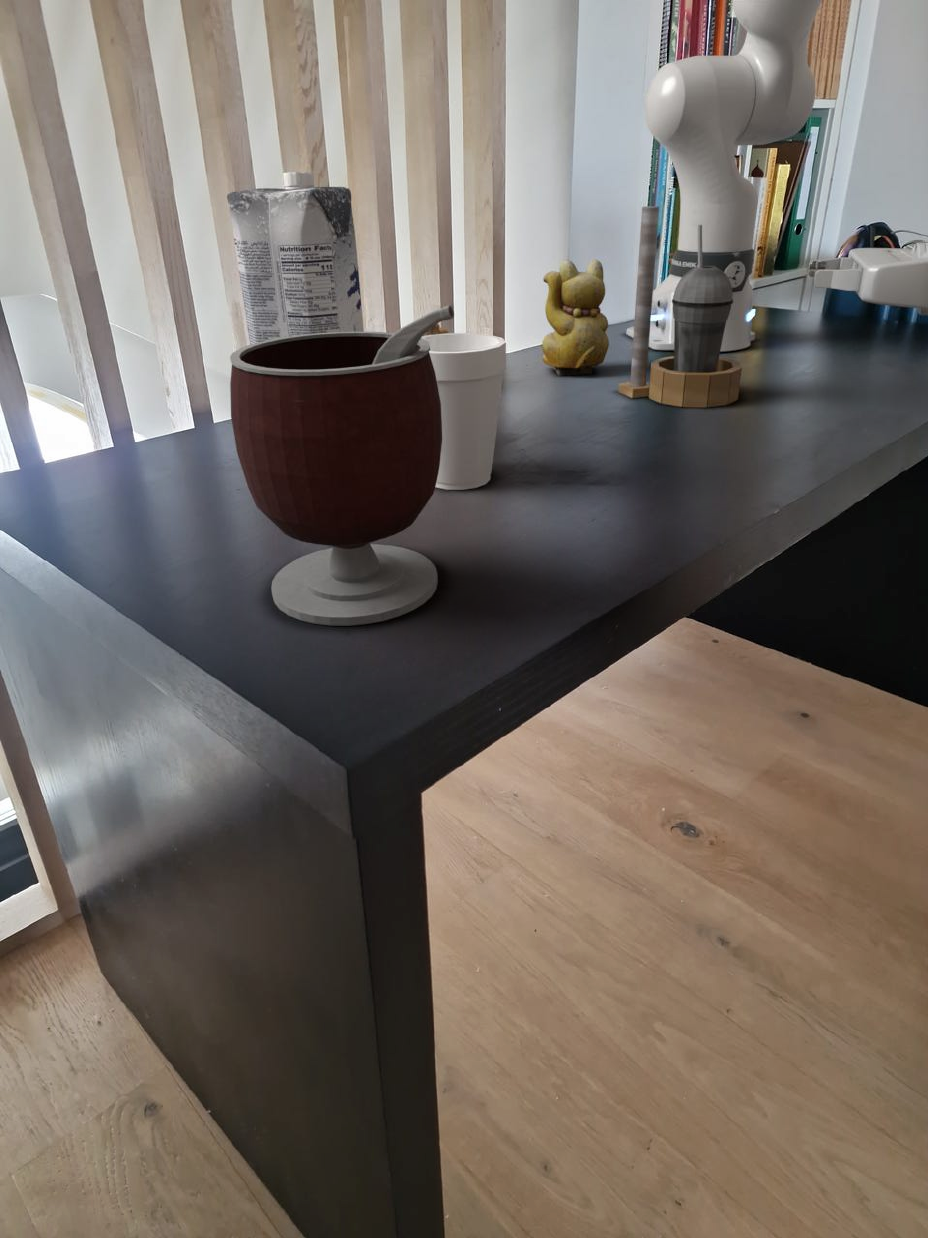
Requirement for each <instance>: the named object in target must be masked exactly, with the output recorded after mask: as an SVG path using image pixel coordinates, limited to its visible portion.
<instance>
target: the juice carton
mask: <svg viewBox="0 0 928 1238" xmlns="http://www.w3.org/2000/svg"><path fill="white" fill-rule="evenodd" d="M282 175H283V185H284V188H274V187H273V188H271V187H270V188H269V187H268V188H267V187H266V188H265V187H263V188H254V189H253V188H252V189H246V190H245V189H244V190H236V191H232V192H230V193H228V194H227V196H226V198H227V202H228V207H229V208H228V209H229V213H230V220H231V226H232V233H233V240H234V241H233V242H234V249H235V254H236V262H237V268H238V275H239V281H240V288H241V295H242V302H243V309H244V316H245V320H246V321H245V322H246V329H247V334H248V341H249V345H251V344H255V343H258V342H262V341H267V340H271V339H276V338H282V337H288V336H296V335H304V334H315V333H328V332H357V331H360V332H365V329H364V320H363V318H364V317H363V309H362V295H361V285H360V273H359V262H358V250H357V240H356V231H355V223H354V216H353V207H352V191H351V189H350V188H348V187H345V186H315V178H314V177H315V175H314V173H312V172H306V171H305V172H303V171H302V172H300V171H293V172H291V171H289V172H283V174H282Z"/></svg>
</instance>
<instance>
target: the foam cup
mask: <svg viewBox="0 0 928 1238" xmlns="http://www.w3.org/2000/svg"><path fill="white" fill-rule="evenodd" d="M421 339H423V340H425V341H427V342H428V343H429V345H430V351H429V353H430V357H431V360H432V364H433V367H434V370H435V375H436V380H437V386H438V391H439V396H440V402H441V420H442V447H441V456H440V466H439V472H438V477H437V481H436V486H435V489H442V490H446V491H449V490H450V491H464V490H469V489H470V490H471V489H476V488H479V487H482V486H485V485H487V484H488V482H490V481H491V474H492V470H493V463H494V455H495V445H496V439H497V437H496V436H497V429H498V423H499V413H500V404H501V396H502V388H503V379H504V371H505V370H506V369H507V342H506V341H505V339H504V338H503V337H500V336H496V335H493V334H486V333H474V332H449V333H446V334H436V335H427V336H422V337H421Z"/></svg>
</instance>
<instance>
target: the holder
mask: <svg viewBox="0 0 928 1238" xmlns="http://www.w3.org/2000/svg"><path fill="white" fill-rule="evenodd" d="M659 216H660V206H658V205H657V206H656V205H653V206H651V205H649V206H648V205H647V206H642V207H641V217H640V218H641V219H640V232H639V247H638V250H639V251H638V260H637V275H636V276H637V277H636V290H635V291H636V292H635V305H634V306H635V307H634V324H633V327H634V335H633V338H632V352H631V367H630V381H626V382H620V383H618V393H619V394H621V395H623V396H625V397H629V398H631V399H640V398H646V397H648V398H649V399H650V400H652V401H654V402H656V403H659V404H661V405H665V406H666V405H667V406H674V407H679V408H705V409H706V408H715V407H722V406H728V405H730V404H732V403H734V402H736V401H738V400H739V393H740V385H741V377H742V371H743V370H742V369H743V367H742V365H741V363H740V362H739V361H737V360H733V359H731V358H726V357H721V356H719V359H718V364H717V369H716V372H711V373H686V372H679V371H674V355H673V356H665V357H660V358H658V359H655V360H652V361H651V362H650V369H649V381H647V376H648V375H647V372H648V360H649V350H650V349H649V348H650V347H649V336H650V323H651V310H652V297H653V291H654V281H655V270H656V269H655V268H656V258H657V257H656V256H657V244H658V242H657V241H658V231H659Z"/></svg>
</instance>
